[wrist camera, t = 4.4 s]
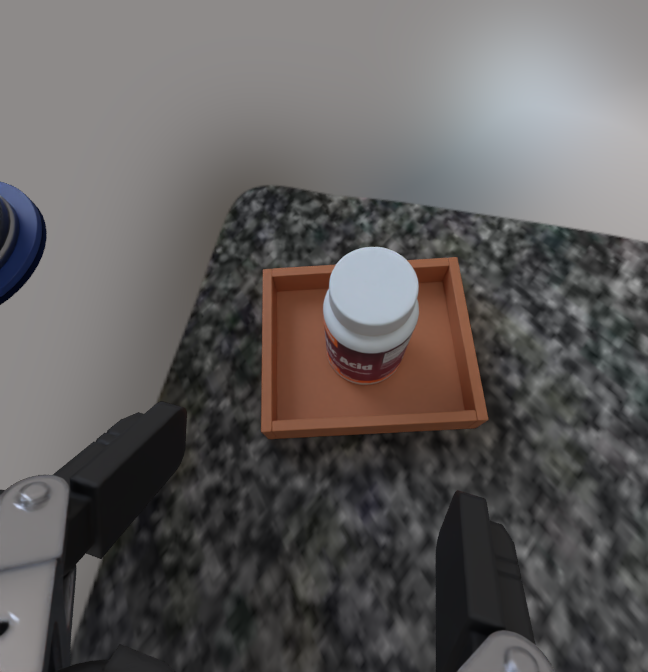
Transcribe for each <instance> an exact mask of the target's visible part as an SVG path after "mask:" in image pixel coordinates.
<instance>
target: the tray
mask: <svg viewBox="0 0 648 672" xmlns="http://www.w3.org/2000/svg"><path fill="white" fill-rule="evenodd" d="M407 261H408V262H409V263H410V264H411V266H412V267H413V269H414V271H415V273H416V275H417V278H418V285H419V291H418V297H417V300H418V305H419V316H418V321H417V324H416V326H415V329H414V331H413V333H412V336H411V338H410V341H409V343H408V345H407V348H406V351H405V353H404V356H403V358H402V361H401V363H400V365H399V367H398V368H397V370H396V371H395V372H394V373H393V374H392V375H391V376H390V377H388V378H387V379H385V380H383V381H381V382H379V383H375V384H370V385H360V384H355V383H352V382H350V381H347V380H346V379H344V378H342V377H341V376H340V375H339V374H338V373H337V372H336V371H335V370H334V369H333V367H332V366H331V364H330V362H329V359H328V356H327V348H326V340H325V327H324V317H323V304H324V299H325V296H326V293H327V291H328V289H329V281H330V276H331V273H332V271H333V269H334V267H335V266H336V265H323V266H307V267H291V268H275V269H264V270H263V311H262V399H261V432H262V433H263V434H264V435H265V436H266V437H267V438H268V439H281V438H300V437H319V436H338V435H357V434H376V433H395V432H414V431H433V430H452V429H471V428H477V427H478V426H480V425H481V424H483V423H484V422H486V421H487V420H488V415H487V410H486V404H485V399H484V394H483V389H482V384H481V378H480V373H479V368H478V363H477V358H476V352H475V347H474V342H473V337H472V332H471V326H470V321H469V316H468V311H467V305H466V300H465V295H464V290H463V285H462V279H461V274H460V269H459V264H458V259H457V257H453V258H436V259H420V260H407Z"/></svg>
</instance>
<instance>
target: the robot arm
mask: <svg viewBox="0 0 648 672" xmlns="http://www.w3.org/2000/svg"><path fill="white" fill-rule="evenodd" d="M18 235H19V220H18V217H17V214H16V212H15V210H14V208H13V207H12V206H11V205H10V204H9V203H8V202H7V201H6V200H5V199H4V198H3V197H2V196H1V195H0V269H1V267H2V266H3V265H4V264H5V263H6V261H7V260H8V258H9V257H10V255H11V254H12V252H13V250H14V248H15V245H16V243H17V240H18ZM186 422H187V411H186V409H185V408H183V407H180V406H176V405H173V404H170V403H166V402H163V401H160V402H158V403H157V404H155V405H154V406H153V407H152V408H151V409H150V410H148V411H147V412H146V413H145V414H142V413H139V412H138V413H136V414H133V415H131V416H129V417H126V418H124V419H121V420H120V421H119V422H117V423H116V424H115V425H114V426H112V427H111V428H110V429H109V430H108V431H107V433H104V434H103V435H101V436H100V437H99V438H98V439H97V440H96V442H93V443H91V444H90V445H89V446H88V447H87V448H85V449H84V450H83V451H82V452H80V453H79V454H78V455H77V456H75V457H74V458H73V459H72V460H70V461H69V462H68V463H67V464H66V465H64V466H63V467H62V468H61V469H59V470H58V471H57V472H56V473H54V474H53V475H38V476H32V477H29V478H26V479H23V480H21V481H19V482H16V483H15V484H13V485H11V486H10V487H9V488H7V489H6V490H0V672H176V671H174V670H173V669H172V668H171V667H170V666H169V665H167V664H166V663H165V662H163V661H161V660H158V659H156V658H153V657H151V656H148V655H146V654H143V653H141V652H138V651H136V650H133V649H131V648H128V647H126V646H123V645H121V644H119V646H118V648H117V649H116V651H115V652H114V654H113V655H112V657H111V658H110V660H99V661H89V662H84V663H79V664H75V665H72V666H71V661H70V644H71V629H72V617H73V604H74V593H75V581H76V563H77V562H78V561H79V560H80V559H81V558H82V557H83V556H84V555H85V553H86V554H89V555H92V556H95V557H97V558H100V559H102V557H103V556H104V555H105V554H106V553H107V552H108V550H109V549H110V548H111V547H112V546H113V544H114V543H115V542H116V541H117V540H118V539H119V537H120V536H121V535H122V534H123V533H124V531H125V530H126V529H127V528H128V527H129V526H130V524H131V523H132V522H133V521H134V520H135V518H136V517H137V516H138V515H139V514H140V513H141V511H142V510H143V509H144V508H145V507H146V506H147V504H148V503H149V502H150V501H151V500H152V498H153V497H154V496H155V495H156V494H157V493H158V491H159V490H160V489H161V488H162V487H163V485H164V484H165V483H166V482H167V481H168V480H169V478H170V477H171V476H172V475H173V474H174V472H175V471H176V470H177V469H178V467H179V465H180V464H181V461H182V459H183V456H184V452H185V441H186ZM517 563H518V560H517V555H516V550H515V545H514V542H513V541H512V539H511V538H510V536H509V534H508V533H507V531H506V530H505V528H504V526H503V525H502V524H499V523H495V522H492V521H489V514H488V508H487V502H486V500H485V499H484V498H481V497H478V496H475V495H471V494H468V493H464V492H461V491H458V490H457V491H456V492H455V494H454V496H453V498H452V501H451V503H450V506H449V509H448V511H447V514H446V516H445V519H444V522H443V524H442V527H441V529H440V532H439V536H438V540H437V546H436V672H555V671H554V669H553V667H552V665H551V663H550V662H549V660H548V659H547V657H546V656H545V655H544V654H543V652H542V651H541V650H540V649H539V648H538V647H537V646H536V644H535V641H534V636H533V631H532V626H531V622H530V617H529V612H528V607H527V603H526V598H525V593H524V588H523V584H522V581H521V574H520V569H519V565H517Z"/></svg>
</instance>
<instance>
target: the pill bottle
mask: <svg viewBox="0 0 648 672" xmlns="http://www.w3.org/2000/svg"><path fill="white" fill-rule="evenodd" d="M418 291H419V285H418V278H417V275H416V273H415V271H414V269H413V267H412V266H411V264H410V263H409V262H408V261H407V260H406V259H405V258H404V257H402V256H401V255H400V254H398V253H396V252H394V251H392V250H389V249H386V248H381V247H365V248H361V249H357V250H354V251H352V252H350V253H349V254H347V255H345V256H344V257H343V258H342V259H341V260H340V261H339V262H338V263H337V264H336V266H335V267H334V269H333V271H332V273H331V276H330V281H329V289H328V291H327V293H326V296H325V299H324V304H323V317H324V327H325V340H326V348H327V356H328V359H329V362H330V364H331V366H332V367H333V369H334V370H335V371H336V372H337V373H338V374H339V375H340V376H341V377H342V378H344V379H346V380H347V381H350V382H352V383H355V384H360V385H370V384H375V383H379V382H381V381H383V380H385V379H387V378H388V377H390V376H391V375H392V374H393V373H394V372H395V371H396V370H397V368H398V367H399V365H400V363H401V361H402V358H403V356H404V353H405V351H406V348H407V345H408V343H409V341H410V338H411V336H412V333H413V331H414V329H415V326H416V324H417V321H418V316H419V305H418V300H417V297H418Z"/></svg>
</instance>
